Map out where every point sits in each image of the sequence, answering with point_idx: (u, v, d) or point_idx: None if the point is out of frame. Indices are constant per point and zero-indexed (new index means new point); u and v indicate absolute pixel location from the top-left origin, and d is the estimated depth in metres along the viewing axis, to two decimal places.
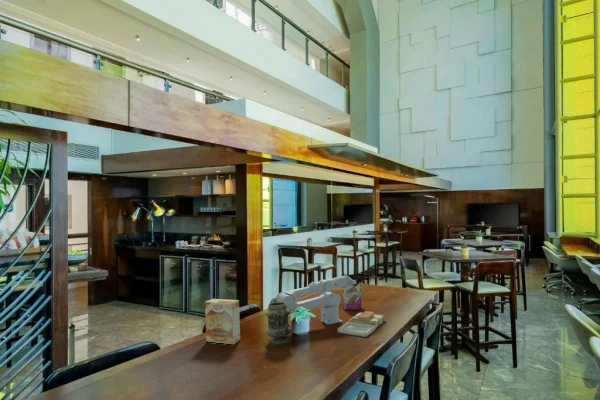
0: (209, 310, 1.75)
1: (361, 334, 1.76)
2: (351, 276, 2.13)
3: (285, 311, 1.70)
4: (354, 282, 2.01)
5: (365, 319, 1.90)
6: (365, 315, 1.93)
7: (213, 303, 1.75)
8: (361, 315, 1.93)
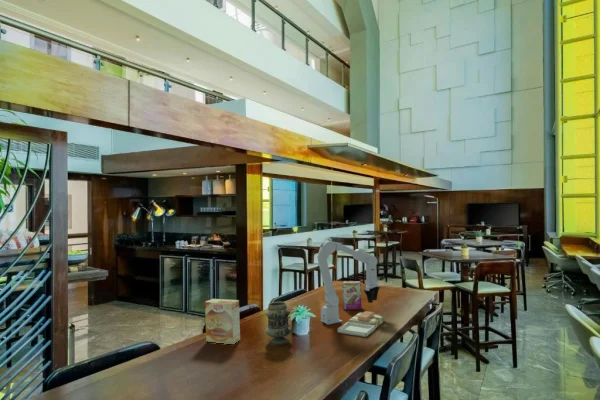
0: (209, 310, 1.75)
1: (361, 334, 1.76)
2: (375, 295, 2.07)
3: (285, 311, 1.70)
4: (367, 288, 1.99)
5: (365, 319, 1.90)
6: (365, 315, 1.93)
7: (213, 303, 1.75)
8: (361, 315, 1.93)
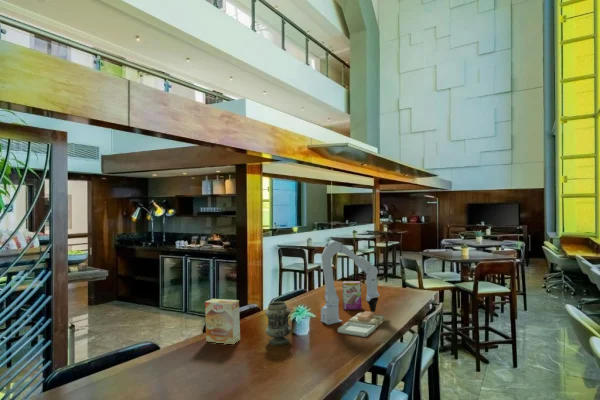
0: (209, 310, 1.75)
1: (361, 334, 1.76)
2: None
3: (285, 311, 1.70)
4: (367, 298, 1.99)
5: (365, 319, 1.90)
6: (365, 315, 1.93)
7: (213, 303, 1.75)
8: (361, 315, 1.93)
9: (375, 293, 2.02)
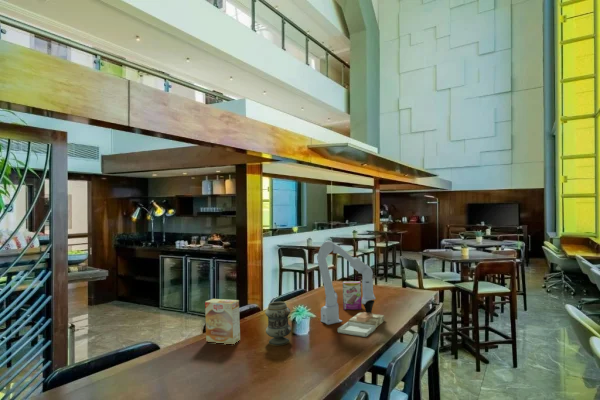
0: (209, 310, 1.75)
1: (361, 334, 1.76)
2: None
3: (285, 311, 1.70)
4: (363, 301, 1.93)
5: (364, 320, 1.89)
6: (364, 316, 1.92)
7: (213, 303, 1.75)
8: (360, 316, 1.92)
9: (371, 296, 1.97)
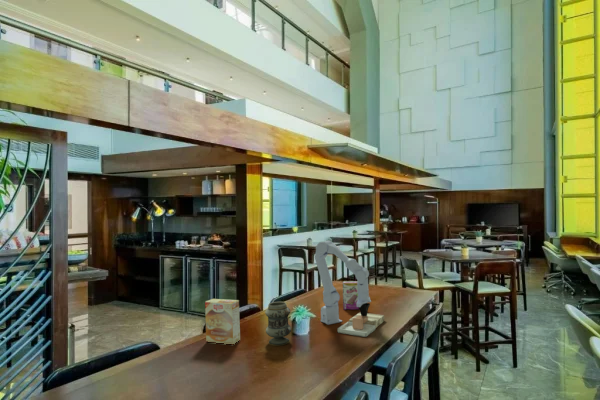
0: (209, 310, 1.75)
1: (361, 334, 1.76)
2: None
3: (285, 311, 1.70)
4: (358, 304, 1.87)
5: None
6: (358, 323, 1.85)
7: (213, 303, 1.75)
8: (355, 324, 1.86)
9: (366, 298, 1.91)
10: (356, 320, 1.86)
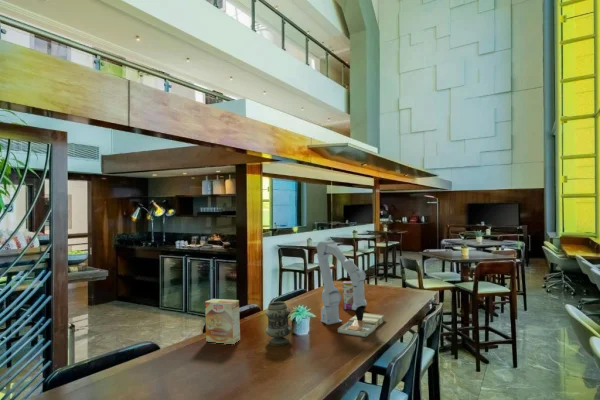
0: (209, 310, 1.75)
1: (361, 334, 1.76)
2: None
3: (285, 311, 1.70)
4: (353, 307, 1.82)
5: None
6: None
7: (213, 303, 1.75)
8: None
9: (362, 301, 1.86)
10: None
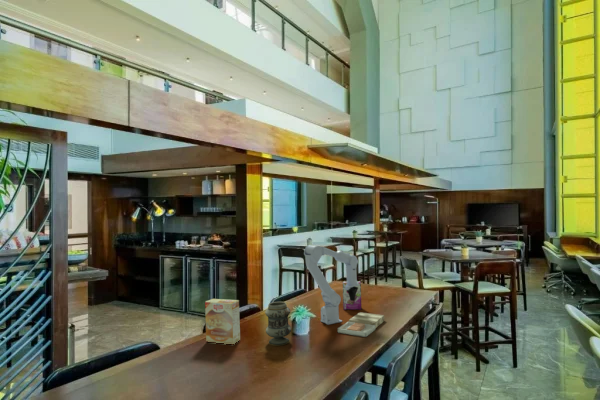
0: (209, 310, 1.75)
1: (361, 334, 1.76)
2: None
3: (285, 311, 1.70)
4: (346, 287, 2.03)
5: None
6: None
7: (213, 303, 1.75)
8: None
9: (354, 282, 2.06)
10: None
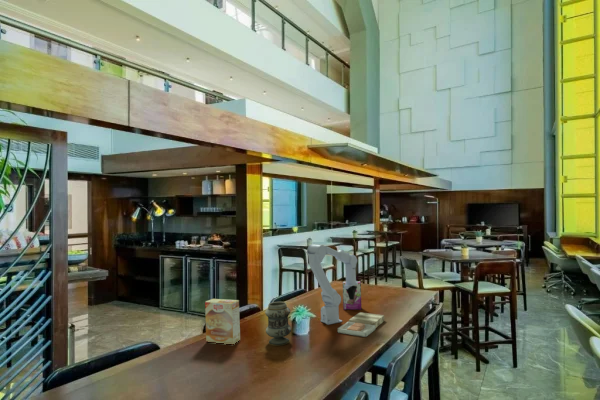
0: (209, 310, 1.75)
1: (361, 334, 1.76)
2: None
3: (285, 311, 1.70)
4: (345, 286, 2.05)
5: None
6: None
7: (213, 303, 1.75)
8: None
9: (353, 281, 2.09)
10: None
